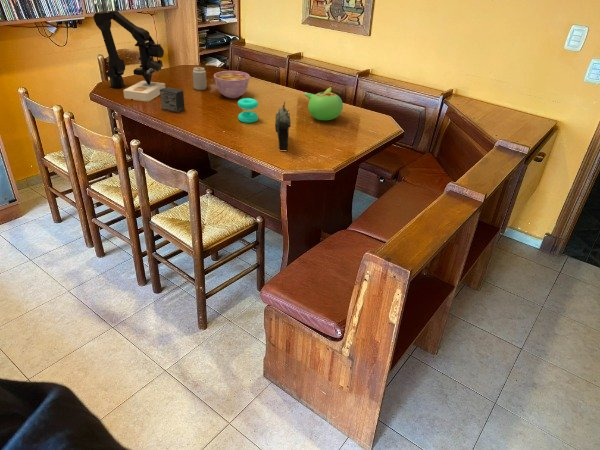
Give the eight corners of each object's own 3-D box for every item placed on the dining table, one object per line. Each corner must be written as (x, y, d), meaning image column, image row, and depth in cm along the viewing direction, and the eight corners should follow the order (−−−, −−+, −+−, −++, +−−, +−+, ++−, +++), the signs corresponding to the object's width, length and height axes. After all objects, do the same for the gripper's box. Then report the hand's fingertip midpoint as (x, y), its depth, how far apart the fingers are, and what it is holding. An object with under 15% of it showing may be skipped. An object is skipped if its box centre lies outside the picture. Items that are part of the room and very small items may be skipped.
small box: (185, 109, 233) (183, 89, 228) (177, 113, 228) (175, 93, 223) (169, 106, 237) (167, 86, 231) (161, 109, 232) (158, 89, 226)
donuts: (252, 96, 226) (261, 102, 219) (252, 115, 231) (261, 121, 225) (234, 98, 221) (243, 105, 214) (235, 118, 227) (243, 124, 220)
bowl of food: (208, 97, 251) (206, 76, 245) (226, 88, 267) (225, 68, 260) (239, 103, 245) (238, 82, 239) (255, 94, 261) (255, 73, 255)
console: (124, 98, 243) (123, 90, 240) (143, 88, 259) (142, 80, 257) (148, 101, 241) (146, 93, 238) (165, 91, 257) (164, 83, 254)
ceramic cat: (290, 153, 195) (291, 108, 184) (275, 153, 194) (276, 108, 183) (287, 135, 211) (289, 93, 200) (273, 135, 211) (274, 93, 200)
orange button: (134, 96, 244) (133, 89, 242) (139, 93, 248) (138, 87, 246) (142, 97, 243) (141, 90, 241) (147, 94, 247) (146, 88, 245)
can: (208, 87, 267) (207, 66, 260) (204, 91, 261) (203, 70, 254) (196, 86, 267) (194, 65, 261) (192, 90, 261) (190, 69, 254)
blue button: (143, 91, 252) (142, 84, 250) (148, 88, 256) (147, 82, 254) (151, 92, 251) (151, 85, 249) (156, 89, 255) (155, 83, 253)
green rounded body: (316, 126, 223) (318, 97, 215) (301, 115, 235) (302, 87, 227) (347, 122, 230) (350, 94, 222) (330, 111, 242) (332, 84, 234)
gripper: (150, 60, 234) (153, 90, 242) (167, 53, 249) (170, 81, 258) (130, 58, 236) (135, 88, 244) (148, 51, 251) (152, 79, 260)
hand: (149, 84), depth 251 cm, fingers closed, pressing on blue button
